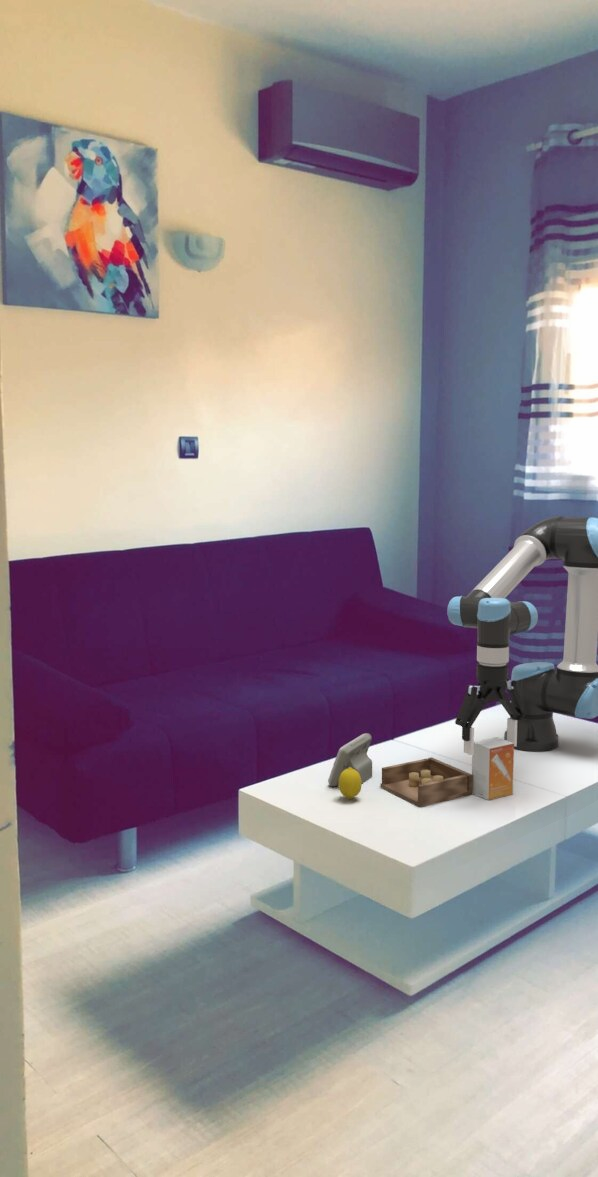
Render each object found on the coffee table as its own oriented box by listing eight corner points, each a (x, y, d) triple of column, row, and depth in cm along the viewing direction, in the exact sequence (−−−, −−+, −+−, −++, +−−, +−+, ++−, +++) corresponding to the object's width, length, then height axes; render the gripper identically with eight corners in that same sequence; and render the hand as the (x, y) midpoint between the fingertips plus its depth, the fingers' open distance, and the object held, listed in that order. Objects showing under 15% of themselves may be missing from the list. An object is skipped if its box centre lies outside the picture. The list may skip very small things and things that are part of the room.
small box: (488, 801, 231) (489, 748, 229) (470, 793, 236) (471, 741, 234) (513, 794, 235) (514, 742, 233) (495, 787, 240) (496, 736, 239)
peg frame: (431, 776, 249) (431, 757, 248) (472, 794, 235) (472, 774, 235) (380, 787, 241) (380, 768, 240) (419, 807, 227) (419, 786, 227)
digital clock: (356, 768, 256) (356, 729, 255) (384, 775, 250) (384, 735, 249) (317, 784, 244) (317, 743, 242) (346, 792, 238) (345, 750, 237)
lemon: (364, 796, 235) (364, 765, 234) (358, 804, 230) (357, 772, 228) (342, 794, 236) (342, 762, 235) (335, 802, 231) (335, 770, 230)
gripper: (520, 655, 240) (518, 738, 243) (441, 665, 228) (439, 753, 231) (542, 660, 234) (539, 745, 237) (461, 671, 221) (460, 761, 224)
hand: (490, 749), depth 234 cm, fingers open, 13 cm apart
